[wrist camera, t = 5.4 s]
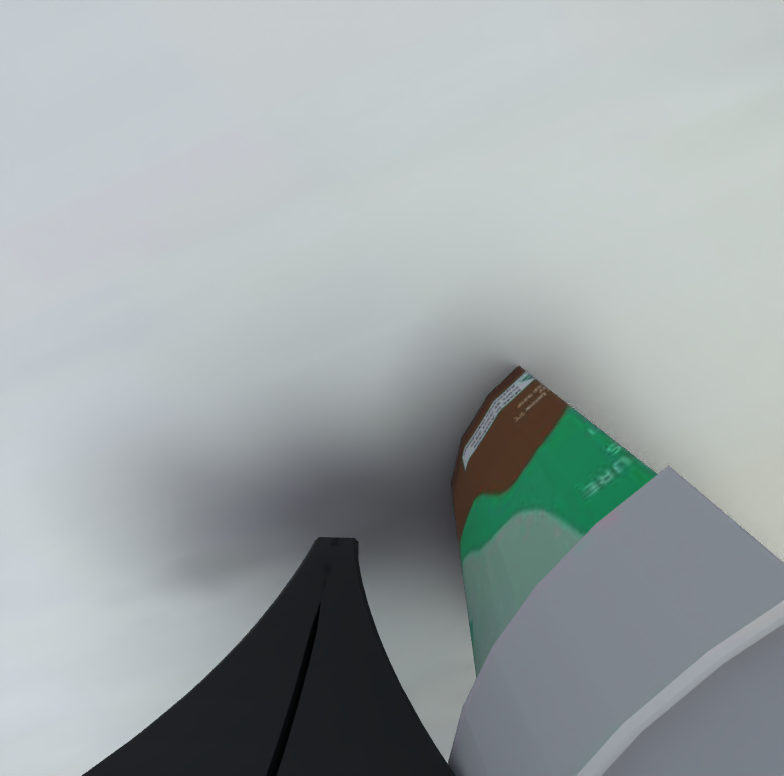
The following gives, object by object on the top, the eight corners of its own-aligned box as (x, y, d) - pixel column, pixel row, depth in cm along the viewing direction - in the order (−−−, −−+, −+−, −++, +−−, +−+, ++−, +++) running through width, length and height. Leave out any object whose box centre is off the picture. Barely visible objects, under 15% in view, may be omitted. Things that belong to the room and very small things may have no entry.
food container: (324, 462, 13) (174, 1031, 4) (486, 326, 12) (897, 638, 2) (558, 684, 16) (813, 1315, 7) (706, 593, 15) (1270, 1197, 5)
